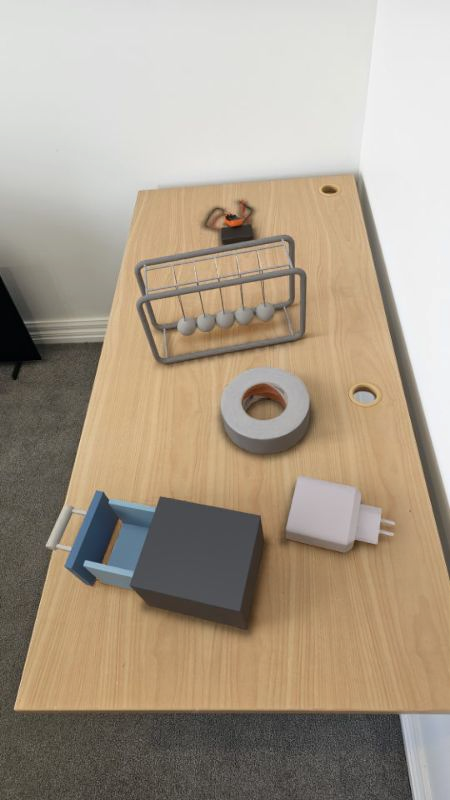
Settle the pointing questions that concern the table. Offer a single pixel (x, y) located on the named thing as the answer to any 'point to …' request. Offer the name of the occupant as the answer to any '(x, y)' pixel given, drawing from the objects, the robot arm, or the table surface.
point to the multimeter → (235, 228)
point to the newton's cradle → (223, 317)
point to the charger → (332, 516)
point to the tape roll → (273, 431)
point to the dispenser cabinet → (200, 561)
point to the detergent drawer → (104, 540)
